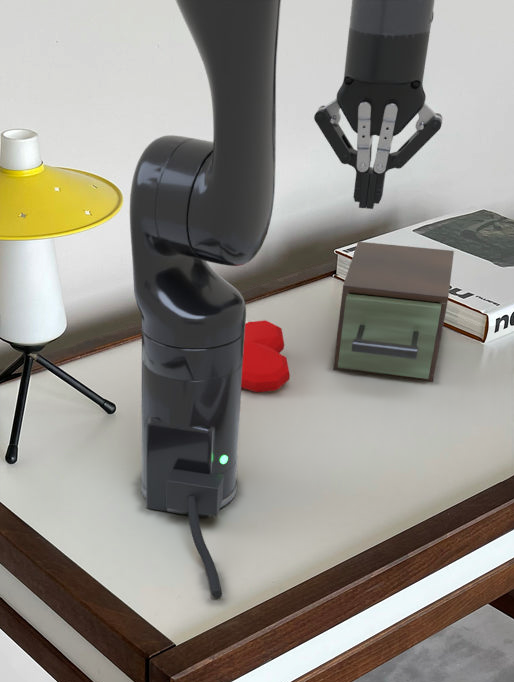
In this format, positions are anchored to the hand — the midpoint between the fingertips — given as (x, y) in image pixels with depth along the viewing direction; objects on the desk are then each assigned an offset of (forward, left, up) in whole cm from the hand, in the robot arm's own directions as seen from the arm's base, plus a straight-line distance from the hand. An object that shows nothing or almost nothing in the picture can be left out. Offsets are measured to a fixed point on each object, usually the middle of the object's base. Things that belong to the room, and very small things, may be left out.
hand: (367, 206), depth 105 cm
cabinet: (+11, -4, -21) cm, 24 cm away
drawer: (+6, -4, -20) cm, 21 cm away
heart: (0, +12, -21) cm, 24 cm away
